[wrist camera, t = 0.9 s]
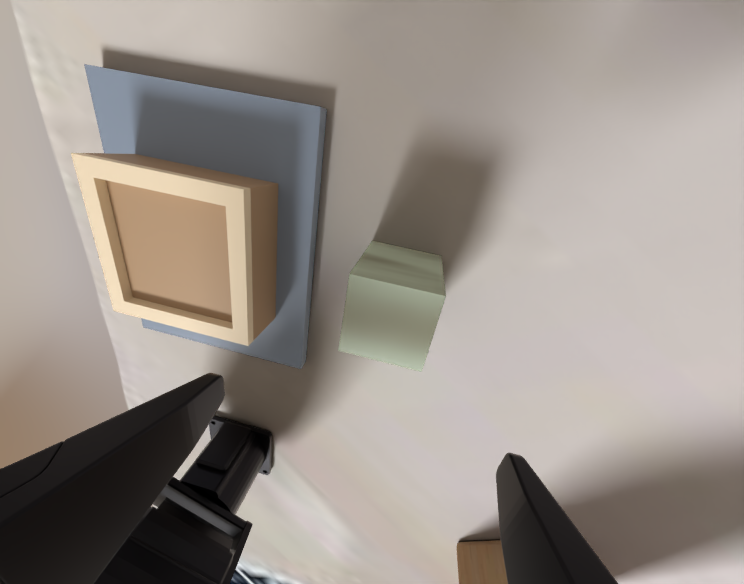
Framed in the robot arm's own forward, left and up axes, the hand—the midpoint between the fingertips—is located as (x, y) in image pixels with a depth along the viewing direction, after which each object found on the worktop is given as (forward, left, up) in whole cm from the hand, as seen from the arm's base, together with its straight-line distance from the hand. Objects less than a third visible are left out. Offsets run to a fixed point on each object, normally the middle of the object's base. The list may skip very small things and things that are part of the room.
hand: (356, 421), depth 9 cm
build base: (0, +13, -12) cm, 17 cm away
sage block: (0, 0, -12) cm, 12 cm away
